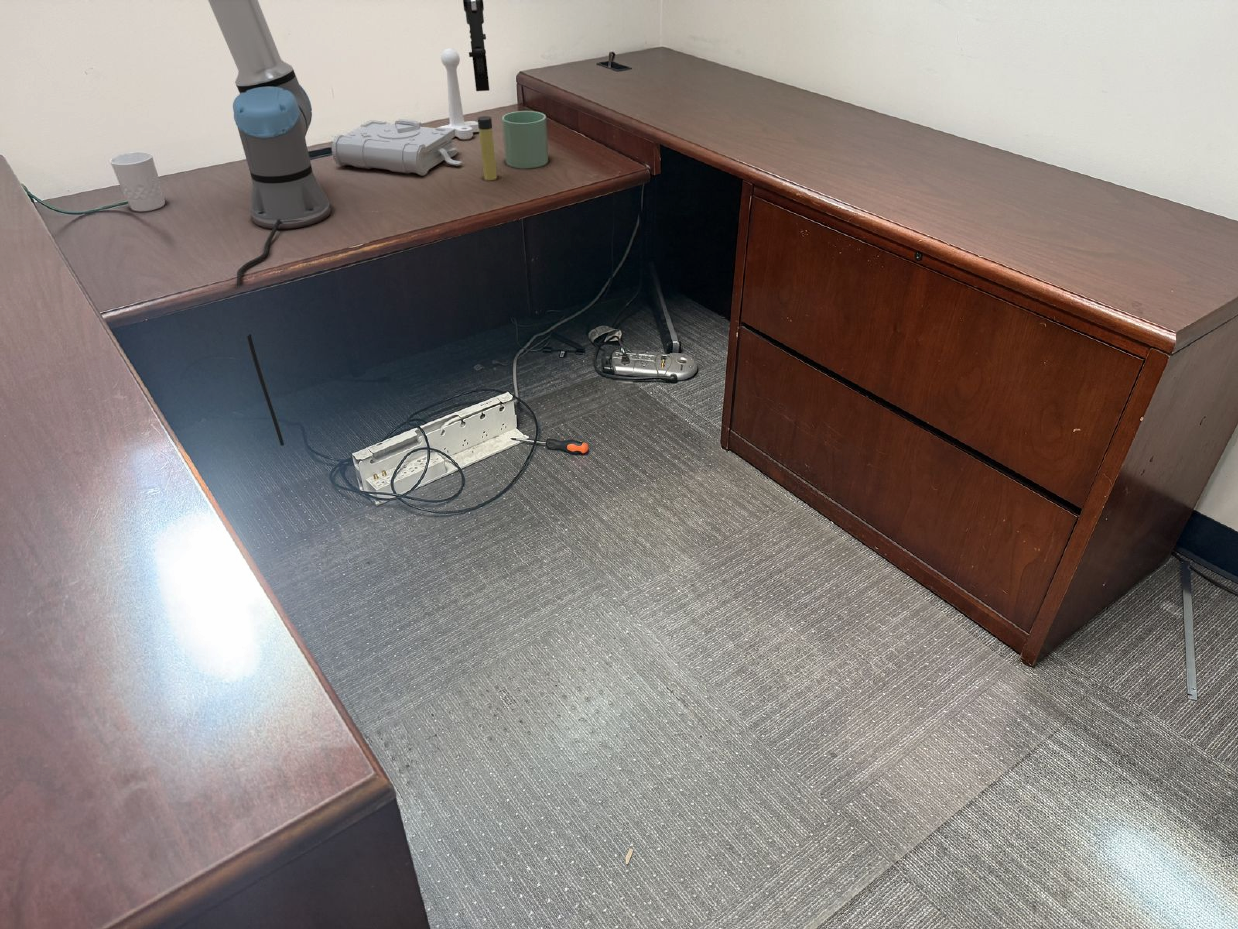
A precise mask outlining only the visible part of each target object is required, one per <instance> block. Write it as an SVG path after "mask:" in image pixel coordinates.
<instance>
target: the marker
mask: <svg viewBox="0 0 1238 929" xmlns="http://www.w3.org/2000/svg"><path fill="white" fill-rule="evenodd" d="M477 122H478V128H479V132H478V133H479V143H480V152H481V161H482V170H483V179H484V180H485V181H494V180H496V179H497V177H498V176H497V166H496V157H495V155H496V154H495V144H494V136H493V135H494V134H493V120H492V117H491V116H488V115H486V116H485V115H482V116H479V117H477Z"/></svg>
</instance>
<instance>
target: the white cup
mask: <svg viewBox="0 0 1238 929" xmlns="http://www.w3.org/2000/svg"><path fill="white" fill-rule="evenodd" d="M109 163H110V165H111V168H112V170H113V173H114V175H115V177H116V179H117V181H118V184H119V186H120V189H121V191H122V193H123V196H124V197H125V198H126V202H127V204H128V207H129V208H130V209H131V210H132V211H135V212H150V211H155V210H159V209H161V208H162V207H164V206H165V204H166V200H165V197H164V194H163V188H162V185H161V181H160V177H159V174H158V170H157V167H156V164H155V160H154V156H153V154H152V153H150V152H147V151H132V152H125V153H121V154H118V155H115V156H113V157H111V158H110V159H109Z"/></svg>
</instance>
